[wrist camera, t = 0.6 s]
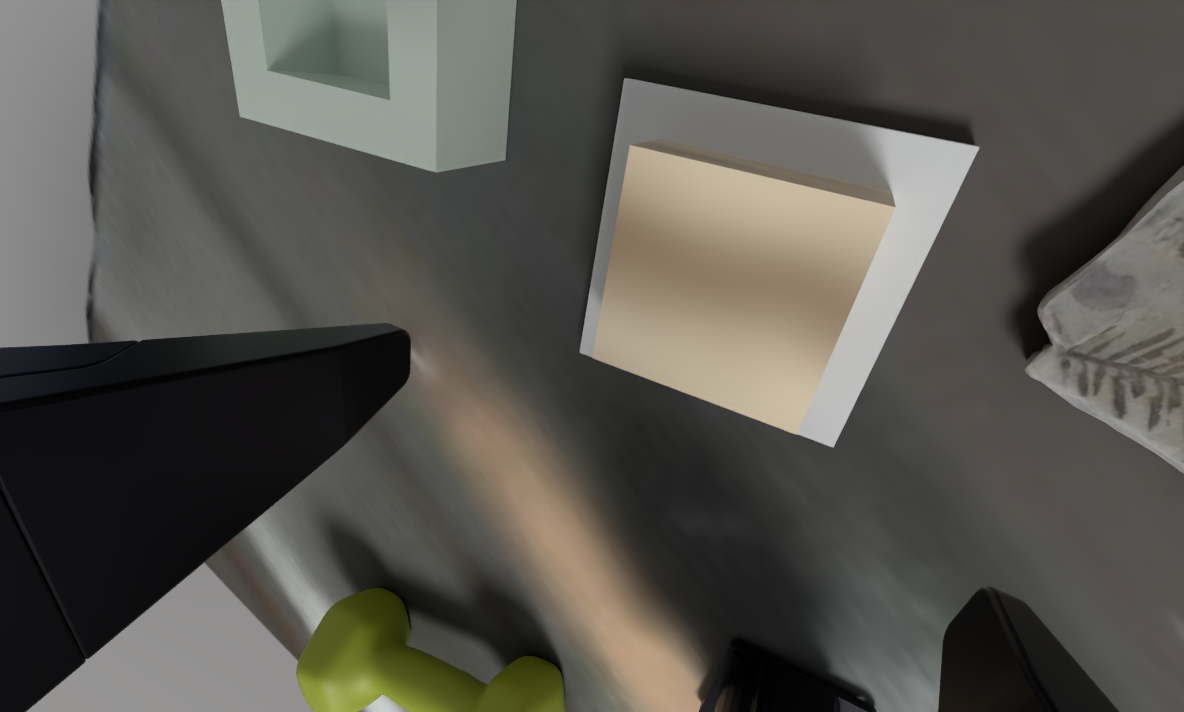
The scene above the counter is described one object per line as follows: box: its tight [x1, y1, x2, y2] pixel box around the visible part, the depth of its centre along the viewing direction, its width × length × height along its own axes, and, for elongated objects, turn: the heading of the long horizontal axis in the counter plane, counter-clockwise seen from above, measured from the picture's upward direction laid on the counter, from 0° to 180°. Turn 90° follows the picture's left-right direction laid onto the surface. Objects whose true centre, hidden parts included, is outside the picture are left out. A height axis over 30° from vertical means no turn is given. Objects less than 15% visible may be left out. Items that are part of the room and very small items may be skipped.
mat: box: [579, 78, 979, 447], centre depth 18 cm, size 10×10×1 cm
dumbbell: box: [296, 588, 565, 712], centre depth 33 cm, size 16×8×7 cm, turn 91°
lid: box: [592, 139, 896, 435], centre depth 17 cm, size 7×7×2 cm
